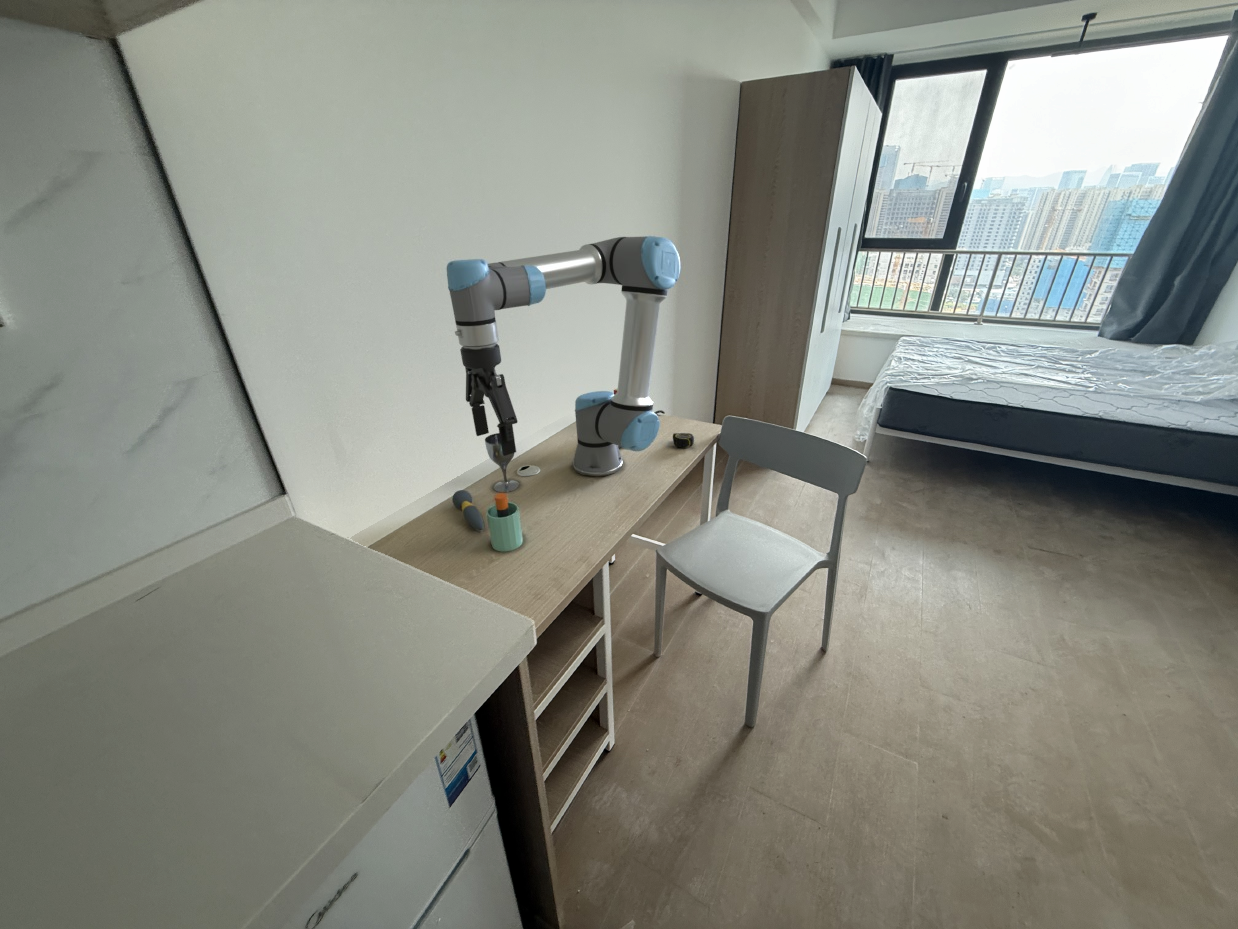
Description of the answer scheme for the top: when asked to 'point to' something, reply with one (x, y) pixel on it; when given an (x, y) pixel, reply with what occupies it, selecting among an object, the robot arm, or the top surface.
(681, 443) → the tape measure
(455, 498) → the paintbrush
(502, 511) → the marker
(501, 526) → the green pen cup
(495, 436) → the wine glass
